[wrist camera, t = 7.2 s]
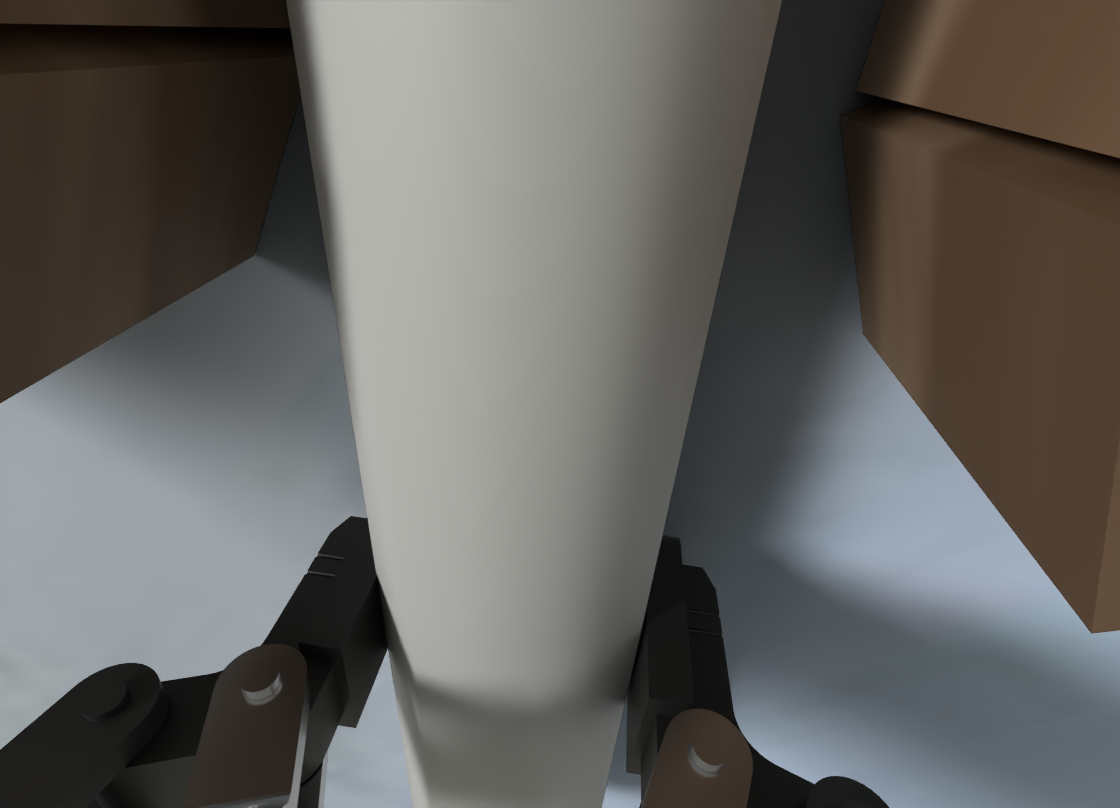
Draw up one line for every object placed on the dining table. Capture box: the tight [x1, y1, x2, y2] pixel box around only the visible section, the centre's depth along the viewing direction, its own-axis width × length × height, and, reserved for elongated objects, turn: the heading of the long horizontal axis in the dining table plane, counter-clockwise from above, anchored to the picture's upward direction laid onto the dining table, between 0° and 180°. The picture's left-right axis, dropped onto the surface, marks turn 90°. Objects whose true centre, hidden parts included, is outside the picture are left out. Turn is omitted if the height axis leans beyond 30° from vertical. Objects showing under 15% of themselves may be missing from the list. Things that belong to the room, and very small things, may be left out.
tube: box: [286, 0, 782, 808], centre depth 10 cm, size 5×5×25 cm
